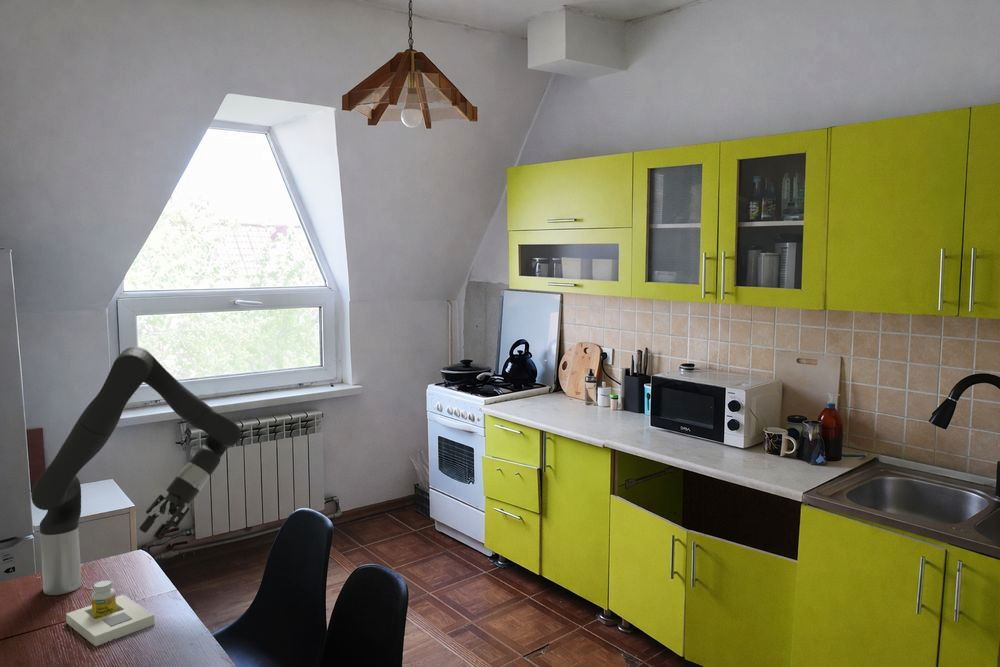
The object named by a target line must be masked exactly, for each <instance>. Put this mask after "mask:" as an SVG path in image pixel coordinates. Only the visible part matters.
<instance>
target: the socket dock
mask: <svg viewBox="0 0 1000 667" xmlns="http://www.w3.org/2000/svg"><path fill="white" fill-rule="evenodd" d="M115 597H116V612H115V613H112V614H109V615H106V616H103V617H101V618H98V619H94V618H93V613H92V604H90V605H88V606H85V607H82V608H79V609H78V608H77V609H75V610H73V611H69V612H67V613H65V617H66V624H67V625H68V626H70V628H73V630H75V632H77V633H78V634H80V635H81V636H82V637H83V638H85V639H86V640H87V641H88V642H89V643H91V644H92V645H93V646H94V647H97V646H101V645H103V644H106V643H109V642H111V641H114V640H116V639H119V638H123V637H124V636H127V635H130V634H132V633H135V632H138V631H140V630H143V629H146V628H148V627H151V626H154V625H155V624H156V623H155V613H152V612H150V610H147V609H146V608H145V607H143V606H141V605H140V604H139V603H137V602H135V601H134V600H132V599H131V598H129V597H128V596H126V595H125V594H120V595H118V596H115ZM113 639H114V640H113ZM108 641H109V642H108Z"/></svg>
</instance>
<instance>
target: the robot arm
mask: <svg viewBox="0 0 1000 667" xmlns="http://www.w3.org/2000/svg"><path fill="white" fill-rule="evenodd" d="M109 370H110V371H109V372H108V375H107V376H106V379H105V381H104V383H103V385H102V387H101V388H100V390H99V392H98V393H97V395H96V396H95V397H94V398H93V399H92V401H90V402H89V404H88V405H87V406H86V408H85V409H84V410H83V412H82V413H81V414H80V416H79V417H78V419H77V421H76V422H75V424H74V425H73V427H72V429H71V431H70V432H69V434H68V435H67V437H66V439H65V441H64V442H63V443H62V445H61V447H60V448H59V450H58V452H57V454H56V455H55V457H54V458H53V460H52V461H51V463H50V464H49V465H48V467H47V468H46V469H45V470H44V471H43V473H42V474H41V475H40V477H39V478H37V480H36V481H35V483H34V485H33V486H32V489H31V495H30V496H31V498H30V499H31V502H32V504H33V505H34V506H35V507H36V508H37V509H39V510H42V511H47V512H46V514H45V516H44V517H43V518H42V519H41V521H40V523H39V535H40V536H39V537H40V553H41V573H42V574H41V575H42V590H43V591H42V592H43V593H44V595H48V596H59V595H65V594H68V593H71V592H74V591H76V590H78V589H79V588H80V587H81V586H82V571H81V570H82V569H81V551H80V550H81V549H80V532H79V531H80V530H79V529H80V528H79V519H80V518H81V513H82V488H81V487H82V486H81V482H80V480H79V477H78V475H77V474H78V473H79V472H80V471H81V470H82V468H84V467H85V466H86V465H87V463H89V462H90V461H91V460H92V459H94V457H95V456H97V455H98V453H99V452H101V450H102V449H103V447H105V445H106V444H107V442H108V441H109V439H110V438H111V436H112V434H113V432H114V431H115V429H116V427H117V425H118V424H119V422H120V420H121V417H122V414H123V412H124V409H125V407H126V405H127V403H128V402H129V401H130V399H131V397H133V395H134V394H135V393H136V392H137V390H138V389H139V388H140V387H141V386H142V384H143V383H144V384H146V385H148V386H149V387H150V388H152V389H153V390H154V391H155V392H156V393H157V394H158V395H159V396H160V397H161V398H162V399H163V400H164V401H165V403H167V406H169V407H170V409H172V410H173V411H174V413H175V414H176V415H178V416H179V417H180V418H181V419H182V420H184V421H185V422H186V423H188V424H190V425H191V426H192V427H194V428H195V429H197V430H200V431H203V432H204V433H206V434H207V436H206V437H205V439H204V441H203V443H202V444H201V446H200V447H199V449H198V450H197V451H196V452H195V454H194V455H193V456H192V457H191V458H190V460H189V461H188V462H187V463H186V465H185V466H184V467H182V469H181V470H180V471H179V473H178V474H177V475H176V476H175V478H174V479H173V480H172V482H171V483H170V484H169V485H168V487H167V488H166V491H167V493H168V494H167V495H166V496H164V495H163V494H159V495H158V496H157V498H155V500H154V501H153V502H152V503H151V504H150V506H149V507H148V508H147V510H146V511H145V513H146V514H147V517H146V518H145V520H144V521H143V522H142V523H141V525H140V526H139V527H138V528H139V531H141V532H142V533H147V532H148V531H149V530H150V528H151V527H152V526H153V525H154V523H155V522H156V520H158V519H159V518H163V517H164V520H163V523H162V524H161V525H160V526H159V527H158V529H157V530H155V532H154V534H153V537H154V538H155V539H157V540H158V541H160V540H162V539H163V537H165V535H166V534H167V532H168V531H169V530H170V529H172V528H174V529H175V528H177V527H179V525H180V523H181V522H182V521H183V520H184V518H185V516H186V515H187V514H188V512H189V511H190V507H189V506H187V505H190V504H192V502H193V501H194V499H195V498H196V497H197V495H198V494H199V493H200V492H201V491H202V489H203V488H204V487H205V485H206V483H207V481H208V480H209V478H210V477H211V475H212V474H213V473H214V472H215V470H216V469H217V467H218V466H219V465H220V462H221V458H222V456H223V455H224V453H225V452H226V451H227V449H228V448H229V447H233V446H235V445H236V444H238V443H239V442H240V441H241V439H242V431H241V428H240V427H239V426H238V424H237V423H235V422H234V421H233V420H232V419H230V418H228V417H226V416H225V415H223V414H221V413H220V412H218V411H216V410H215V409H213V408H212V407H211V406H210V405H208V404H207V403H206V402H205V401H203V400H202V399H201V398H199V397H198V396H197V395H196V394H194V393H193V392H191V391H190V390H189V389H187V387H185V386H184V384H181V382H180V381H178V379H176V378H175V377H174V376H173V375H172V374H171V373H170V372H168V371H167V369H165V367H164V366H163V365H162V364H161V363H160V362H159V361H158V360H157V359H156V357H154V355H152V353H151V352H149V351H148V350H147V349H146V348H143V347H141V346H130V347H128V348H126V349H124V350H123V351H122V352H121V353H120V354H119V355H118V356H117V357H116V358H115V360H114V361H113V364H112V366H111V368H110V369H109Z"/></svg>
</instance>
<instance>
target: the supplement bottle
mask: <svg viewBox="0 0 1000 667" xmlns="http://www.w3.org/2000/svg"><path fill="white" fill-rule="evenodd" d="M112 583H113V582H112V581H110V580H99V581H98V582H95V583H94V584H93V591H94V592H93V593H92V594H91V605H92V613H93V618H94V619H98V618H101V617H103V616H106V615H109V614H112V613H115V612H116V597H117V596H116V591H115V589H114V588H113V584H112Z"/></svg>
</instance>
